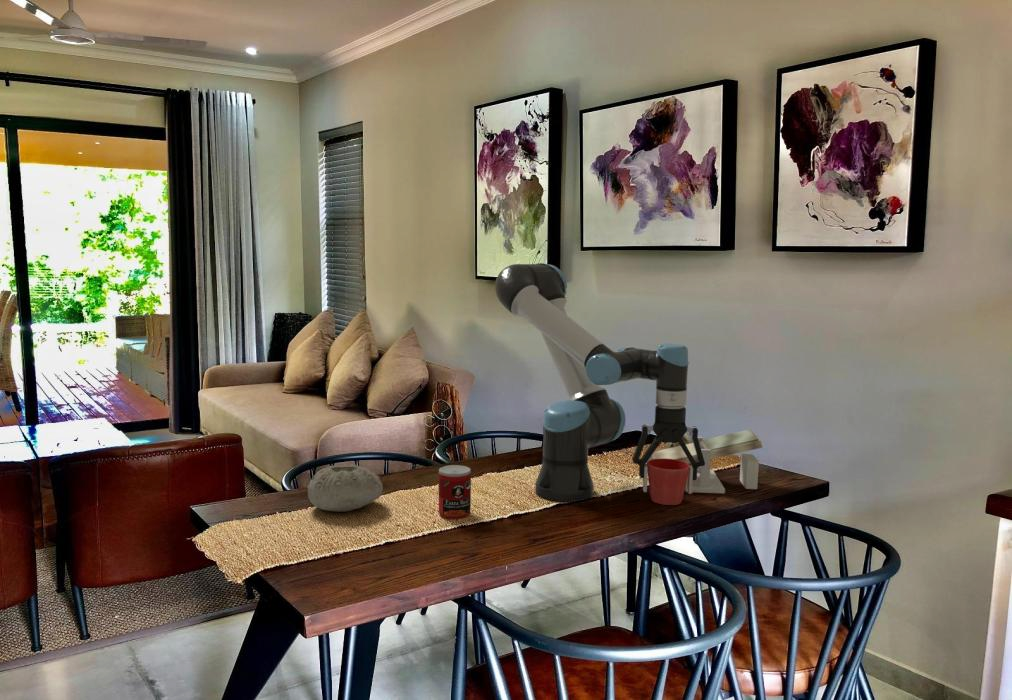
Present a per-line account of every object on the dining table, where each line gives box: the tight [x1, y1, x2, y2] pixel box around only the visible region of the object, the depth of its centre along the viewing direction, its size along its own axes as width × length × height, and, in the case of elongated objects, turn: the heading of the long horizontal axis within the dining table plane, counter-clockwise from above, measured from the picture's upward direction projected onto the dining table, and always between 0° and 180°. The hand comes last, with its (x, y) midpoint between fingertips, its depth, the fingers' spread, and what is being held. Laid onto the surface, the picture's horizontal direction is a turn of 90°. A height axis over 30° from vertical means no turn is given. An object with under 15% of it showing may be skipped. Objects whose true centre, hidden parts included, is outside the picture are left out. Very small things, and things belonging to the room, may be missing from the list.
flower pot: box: [646, 458, 691, 506], centre depth 206 cm, size 11×11×10 cm
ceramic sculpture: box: [657, 432, 693, 451], centre depth 246 cm, size 11×9×15 cm
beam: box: [647, 429, 763, 465], centre depth 222 cm, size 30×12×3 cm, turn 85°
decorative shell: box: [306, 464, 384, 513], centre depth 197 cm, size 18×18×10 cm
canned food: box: [438, 464, 472, 520], centre depth 193 cm, size 8×8×11 cm
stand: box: [684, 436, 760, 494], centre depth 222 cm, size 20×18×11 cm
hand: (667, 491), depth 207 cm, fingers closed on flower pot, 10 cm apart
